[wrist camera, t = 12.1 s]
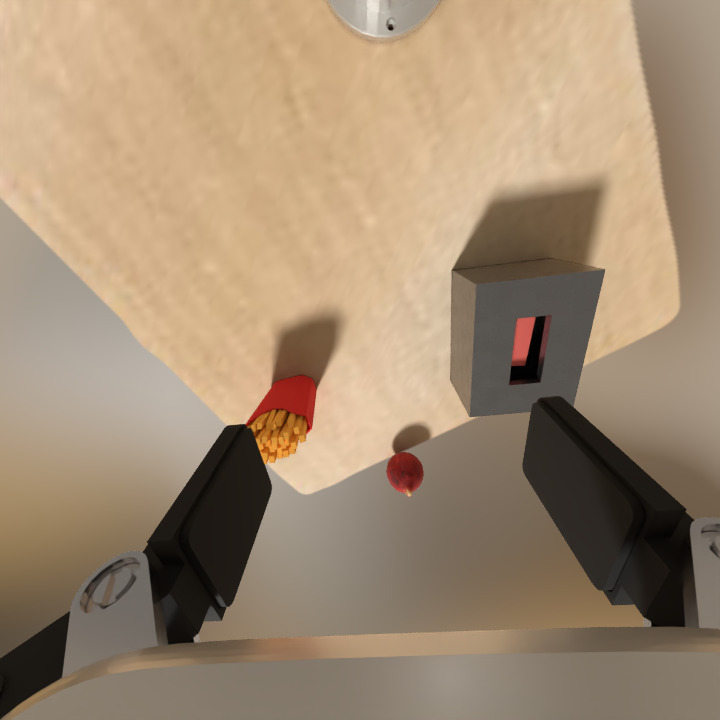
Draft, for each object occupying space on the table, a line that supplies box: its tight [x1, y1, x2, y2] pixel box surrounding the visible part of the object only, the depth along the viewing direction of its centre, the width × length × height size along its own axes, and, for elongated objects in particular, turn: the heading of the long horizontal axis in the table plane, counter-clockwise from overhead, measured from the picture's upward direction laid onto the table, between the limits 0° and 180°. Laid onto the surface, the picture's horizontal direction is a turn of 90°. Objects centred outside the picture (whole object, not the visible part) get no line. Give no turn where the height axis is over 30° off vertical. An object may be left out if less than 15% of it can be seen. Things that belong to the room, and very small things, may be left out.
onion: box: [387, 452, 424, 497], centre depth 46 cm, size 6×6×8 cm
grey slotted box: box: [450, 258, 605, 417], centre depth 35 cm, size 16×12×9 cm
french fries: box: [245, 375, 317, 464], centre depth 39 cm, size 9×4×13 cm, turn 106°
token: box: [511, 317, 536, 366], centre depth 36 cm, size 6×2×6 cm
